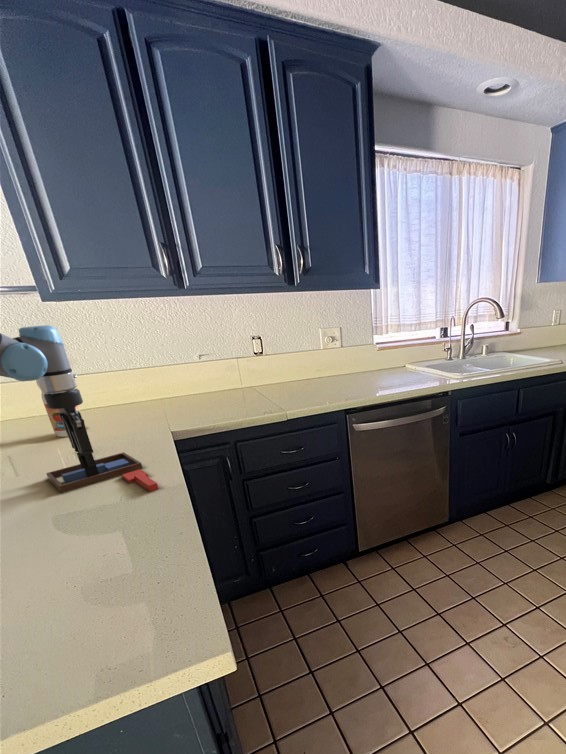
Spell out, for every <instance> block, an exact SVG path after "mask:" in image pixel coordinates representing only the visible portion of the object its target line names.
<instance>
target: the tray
mask: <svg viewBox="0 0 566 754" xmlns="http://www.w3.org/2000/svg"><path fill="white" fill-rule="evenodd" d="M120 459H125V460H126V461H128V462H129V463H130V465H129V466H126V467H122V468H119V469H115V470H112V471H108V472H105V473H101V474H98V475H95V476H91V477H87V478H84V479H80V480H77V481H73V482H70V483H64V484H62V483H61V482H60V481H59V480H58V479H57V478H60V477H61V478H62V475H61V474H65V473H68V472H72V471H76V470H79V469H82V467H81V464H80V463H79V464H75V465H71V466H68V467H63V468H60V469H57V470H52V471H49V472H46V473H45V474H46V476H47V479H48V480H49V482H51V483H52V484H53V485H54V487H56V488H57V490H59V491H60V493H61V494H62V493H63V494H64V493H67V492H70V491H72V490H75V489H76V490H77V489H80V488H83V487H86V486H89V485H93V484H96V483H99V482H100V483H101V482H102V481H107V480H110V479H113V478H116V477H119V476H122V474H125V473H129V472H132V471H135V470H139V469H140V470H143V465H142V462H140V461H139V460H138V459H135V458H134V457H133V456H130V455H129V454H127V453H126V452H120V453H116V454H113V455H109V456H105V457H102V458H97V459H94V461H95V463H96V465H97V464H101V463H103V464H105V463H109V462H113V461H116V460H120Z"/></svg>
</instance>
